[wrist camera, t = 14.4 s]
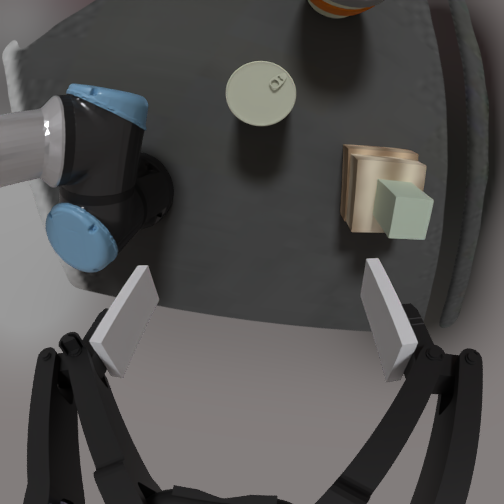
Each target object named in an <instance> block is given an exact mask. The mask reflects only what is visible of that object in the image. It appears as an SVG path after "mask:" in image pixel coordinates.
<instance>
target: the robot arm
mask: <svg viewBox="0 0 504 504" xmlns="http://www.w3.org/2000/svg"><path fill="white" fill-rule="evenodd" d="M66 93H67V95H59V96H53V97H52V98H51V99H50V100H49V101H48V102H47V103H46V104H45V105H44V106H43V107H42V108H40V109H36V110H28V111H21V112H14V113H8V114H2V115H0V187H3V186H7V185H11V184H15V183H19V182H24V181H28V180H33V179H37V178H40V179H42V180H43V181H45V182H46V183H47V184H48V185H49V186H51V187H58V186H59V203H58V204H56V205H55V206H53V207H52V209H51V211H50V212H49V214H48V216H47V219H46V232H47V236H48V239H49V241H50V243H51V245H52V247H53V248H54V250H55V251H56V253H57V254H58V255H59V256H60V257H61V258H62V259H63V260H64V261H65V262H66V263H67V264H69V265H70V266H72V267H73V268H75V269H78V270H80V271H83V272H97V271H100V270H102V269H103V268H105V267H106V266H107V265H108V264H109V263H110V262H112V261H113V260H114V259H115V258H116V257H117V254H118V253H119V252H120V251H121V250H122V248H123V247H124V246H125V245H126V244H127V243H128V242H129V240H130V239H131V238H132V237H133V236H134V235H135V234H136V233H137V231H138V230H140V229H143V228H146V227H149V226H152V225H154V224H155V223H157V222H158V221H160V220H161V219H162V218H163V216H164V215H165V214H166V213H167V212H168V210H169V208H170V206H171V204H172V200H173V184H172V180H171V177H170V175H169V173H168V171H167V170H166V168H165V167H164V166H163V165H162V164H161V162H159V161H158V160H157V159H156V158H154V157H152V156H150V155H148V154H144V153H140V151H141V145H142V140H143V134H144V131H145V130H146V126H145V125H146V118H147V112H148V103H147V101H146V99H145V98H144V97H142V96H140V95H137V94H133V93H128V92H124V91H119V90H114V89H108V88H103V87H97V86H90V85H82V84H71V85H70V86H69V88H68V89H67V92H66ZM360 296H361V299H362V302H363V305H364V308H365V311H366V315H367V318H368V321H369V324H370V327H371V330H372V334H373V337H374V340H375V344H376V347H377V350H378V354H379V358H380V361H381V365H382V368H383V372H384V376H385V380H386V382H391V381H398V380H401V378H402V376H403V374H404V375H405V378H406V380H405V382H404V384H403V386H402V388H401V389H400V391H399V393H398V394H397V396H396V398H395V399H394V401H393V403H392V404H391V406H390V408H389V409H388V411H387V413H386V414H385V416H384V417H383V419H382V420H381V422H380V423H379V425H378V426H377V428H376V429H375V431H374V432H373V434H372V435H371V437H370V438H369V439H368V441H367V442H366V443H365V445H364V446H363V448H362V449H361V450H360V452H359V453H358V454H357V456H356V457H355V458H354V459H353V461H352V462H351V463H350V465H349V466H348V467H347V468H346V470H345V471H344V472H343V473H342V474H341V476H340V477H339V478H338V479H337V480H336V481H335V482H334V484H333V485H332V486H331V487H330V488H329V489H328V490H327V492H325V494H324V495H323V496H322V497H321V498H320V499H319V500H318V501H317V502H316V503H315V504H367V502H368V501H369V499H370V496H371V495H372V493H373V492H374V490H375V489H376V487H377V486H378V485H379V483H380V482H381V481H382V479H383V478H384V476H385V475H386V473H387V472H388V470H389V469H390V467H391V466H392V464H393V463H394V461H395V460H396V458H397V456H398V455H399V453H400V452H401V450H402V448H403V447H404V445H405V443H406V442H407V440H408V438H409V436H410V435H411V433H412V431H413V429H414V427H415V426H416V424H417V422H418V420H419V418H420V416H421V414H422V412H423V410H424V408H425V406H426V404H427V402H428V400H429V398H430V395H431V394H438V401H437V407H436V413H435V418H434V423H433V428H432V432H431V437H430V441H429V445H428V449H427V453H426V457H425V460H424V464H423V467H422V471H421V474H420V477H419V480H418V483H417V486H416V489H415V492H414V495H413V497H412V500H411V503H410V504H465V503H466V500H467V496H468V492H469V488H470V484H471V480H472V475H473V471H474V465H475V460H476V454H477V448H478V440H479V432H480V423H481V411H482V389H483V368H482V367H483V365H482V357H481V356H480V354H479V353H478V352H477V351H476V350H473V349H465V350H463V351H462V352H461V353H460V355H451V354H445V353H444V351H443V350H442V348H440V347H439V346H437V345H434V344H433V341H432V340H431V337H430V335H429V333H428V331H427V329H426V326H425V324H424V322H423V320H422V318H421V316H420V314H419V312H418V310H417V309H416V308H415V307H414V306H413V305H412V304H411V303H410V304H401V303H400V301H399V298H398V296H397V294H396V292H395V290H394V288H393V286H392V284H391V282H390V280H389V278H388V276H387V274H386V272H385V270H384V268H383V266H382V264H381V262H380V261H379V259H378V258H369V259H366V263H365V270H364V277H363V283H362V289H361V295H360ZM158 301H159V297H158V294H157V291H156V288H155V285H154V282H153V279H152V276H151V273H150V270H149V266H148V265H142V266H137V267H136V269H135V270H134V272H133V273H132V275H131V276H130V278H129V279H128V281H127V282H126V284H125V285H124V287H123V288H122V290H121V291H120V293H119V294H118V296H117V297H116V299H115V300H114V302H113V303H112V305H111V306H110V308H109V309H104V310H103V311H102V312H101V313H100V314H99V315H98V317H97V318H96V320H95V322H94V323H93V324H92V327H91V328H90V329H89V331H88V332H87V334H86V335H85V337H84V339H83V340H82V339H81V338H80V336H79V335H78V334H77V333H76V332H70V333H67V334H66V335H64V336H63V337H62V338H61V340H60V341H59V347H60V348H61V349H62V351H63V353H59V354H57V352H56V351H55V350H54V349H53V348H51V347H50V348H46V349H44V350H43V351H41V352H40V354H39V356H38V359H37V364H36V369H35V375H34V381H33V388H32V395H31V403H30V414H29V424H28V443H27V477H28V485H27V489H26V493H25V498H24V503H23V504H85V499H84V490H83V483H82V475H81V466H80V456H79V443H78V417H77V411H78V414H79V418H80V421H81V425H82V428H83V432H84V435H85V438H86V441H87V444H88V447H89V450H90V453H91V456H92V458H93V461H94V464H95V467H96V471H95V472H94V478H95V481H96V484H97V486H98V489H99V491H100V493H101V495H102V498H103V500H104V502H105V504H292V503H290V502H287V501H284V500H280V499H277V496H264V495H263V496H262V495H247V496H241V497H233V498H225V499H224V498H219V497H216V496H213V495H211V494H208V493H205V492H203V491H200V490H197V489H192V488H186V487H181V486H175V485H174V487H173V489H170V490H164V491H162V490H161V489H160V487H159V486H158V485H157V484H156V482H155V481H154V480H153V479H152V477H151V476H150V474H149V472H148V470H147V469H146V467H145V465H144V463H143V461H142V459H141V457H140V455H139V453H138V452H137V449H136V447H135V445H134V443H133V441H132V439H131V437H130V434H129V432H128V430H127V428H126V426H125V423H124V421H123V419H122V416H121V414H120V412H119V409H118V406H117V404H116V402H115V399H114V397H113V394H112V391H111V388H110V386H109V383H108V380H107V378H106V376H105V372H106V370H108V372H109V373H110V375H111V376H115V377H120V378H123V377H124V374H125V372H126V370H127V368H128V365H129V363H130V361H131V359H132V356H133V354H134V352H135V350H136V348H137V345H138V343H139V341H140V339H141V337H142V335H143V333H144V330H145V328H146V326H147V324H148V322H149V320H150V318H151V316H152V314H153V312H154V310H155V308H156V305H157V303H158Z"/></svg>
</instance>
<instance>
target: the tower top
mask: <svg viewBox="0 0 504 504" xmlns="http://www.w3.org/2000/svg"><path fill="white" fill-rule="evenodd" d="M425 174H426V165H424V164H422V163H420V162H419V161H417V160H414V159H406V158H397V157H387V156H376V155H363V154H351V160H350V178H349V192H348V204H347V215H346V222H347V224H348V226H349V228H350V230H351V232H372V233H385V232H384V230H383V229H382V227H381V226H380V225H379V223H378V222H377V220H376V219H375V217H374V216H373V210H374V203H375V196H376V189H377V181H378V179H384V180H394V181H403V182H411V183H413V184H414V185H415V186H416V187H418V188H419V189H420V190H421V191H423V189H424V182H425Z"/></svg>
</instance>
